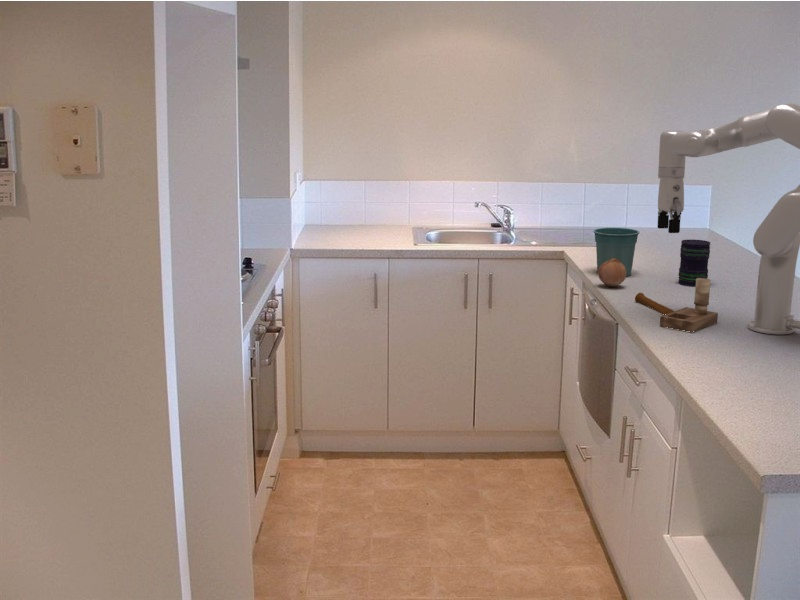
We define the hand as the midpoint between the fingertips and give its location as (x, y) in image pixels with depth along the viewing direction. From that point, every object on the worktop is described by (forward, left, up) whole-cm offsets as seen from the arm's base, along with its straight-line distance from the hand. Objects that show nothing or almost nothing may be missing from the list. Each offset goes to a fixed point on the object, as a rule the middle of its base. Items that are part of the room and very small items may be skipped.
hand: (668, 230), depth 283 cm
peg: (-14, +4, -22) cm, 27 cm away
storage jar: (+13, -46, -26) cm, 55 cm away
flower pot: (+41, -42, -26) cm, 64 cm away
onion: (+30, -22, -26) cm, 45 cm away
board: (-13, +8, -25) cm, 29 cm away
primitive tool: (+4, -4, -26) cm, 27 cm away
